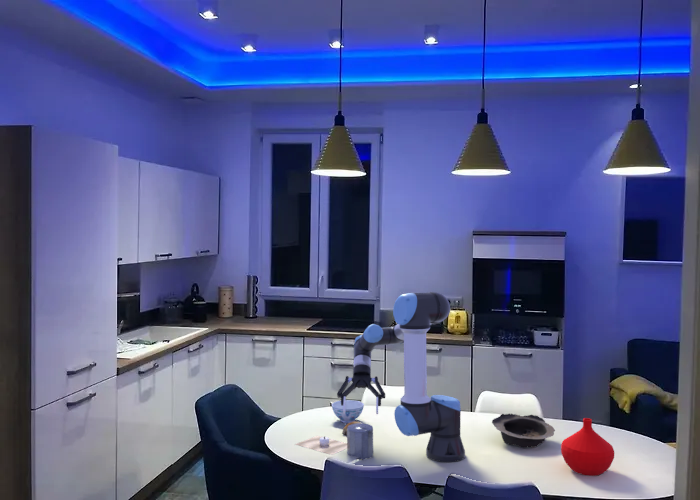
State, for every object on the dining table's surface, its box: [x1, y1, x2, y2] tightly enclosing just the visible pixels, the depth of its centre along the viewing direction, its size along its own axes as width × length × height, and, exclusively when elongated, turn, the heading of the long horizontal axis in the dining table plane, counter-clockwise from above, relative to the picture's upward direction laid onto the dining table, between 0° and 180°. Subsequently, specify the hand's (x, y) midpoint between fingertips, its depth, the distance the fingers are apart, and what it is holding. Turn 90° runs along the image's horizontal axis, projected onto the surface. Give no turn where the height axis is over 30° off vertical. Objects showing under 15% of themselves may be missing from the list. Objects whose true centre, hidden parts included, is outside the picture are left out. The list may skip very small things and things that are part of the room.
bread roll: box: [341, 420, 361, 437], centre depth 269 cm, size 10×10×8 cm
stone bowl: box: [491, 413, 556, 449], centre depth 260 cm, size 25×25×9 cm
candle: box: [320, 436, 330, 446], centre depth 255 cm, size 4×4×3 cm
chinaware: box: [331, 399, 365, 424], centre depth 291 cm, size 15×15×8 cm
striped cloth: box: [294, 435, 347, 456], centre depth 255 cm, size 20×14×1 cm
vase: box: [560, 417, 615, 477], centre depth 228 cm, size 18×18×19 cm
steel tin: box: [346, 422, 374, 460], centre depth 246 cm, size 10×10×11 cm
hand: (360, 412), depth 256 cm, fingers open, 13 cm apart
